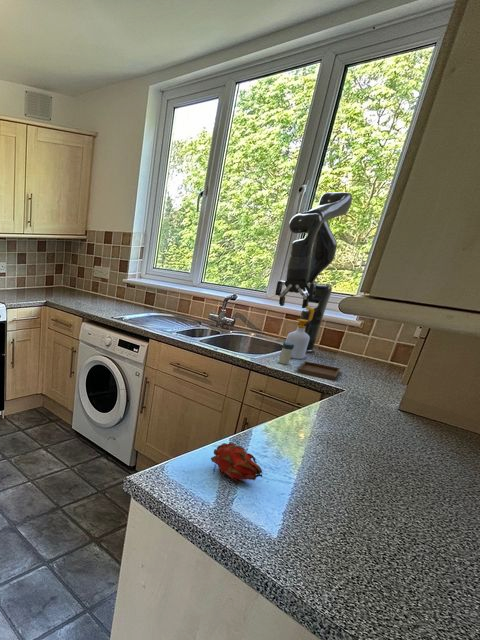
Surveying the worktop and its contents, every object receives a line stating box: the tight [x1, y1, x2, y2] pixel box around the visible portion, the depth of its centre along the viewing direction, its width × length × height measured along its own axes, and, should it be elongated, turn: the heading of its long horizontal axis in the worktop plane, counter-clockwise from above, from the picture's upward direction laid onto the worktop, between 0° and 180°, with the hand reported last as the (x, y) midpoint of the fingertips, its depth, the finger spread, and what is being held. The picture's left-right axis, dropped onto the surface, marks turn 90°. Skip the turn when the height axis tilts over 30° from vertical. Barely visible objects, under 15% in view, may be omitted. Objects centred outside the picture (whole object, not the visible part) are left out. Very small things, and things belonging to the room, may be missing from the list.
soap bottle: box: [285, 305, 314, 360], centre depth 192 cm, size 9×9×25 cm
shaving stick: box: [278, 342, 294, 365], centre depth 184 cm, size 4×4×9 cm
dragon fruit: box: [210, 442, 263, 484], centre depth 96 cm, size 8×8×12 cm
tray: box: [297, 360, 341, 381], centre depth 175 cm, size 15×13×2 cm
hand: (292, 306), depth 171 cm, fingers open, 8 cm apart
